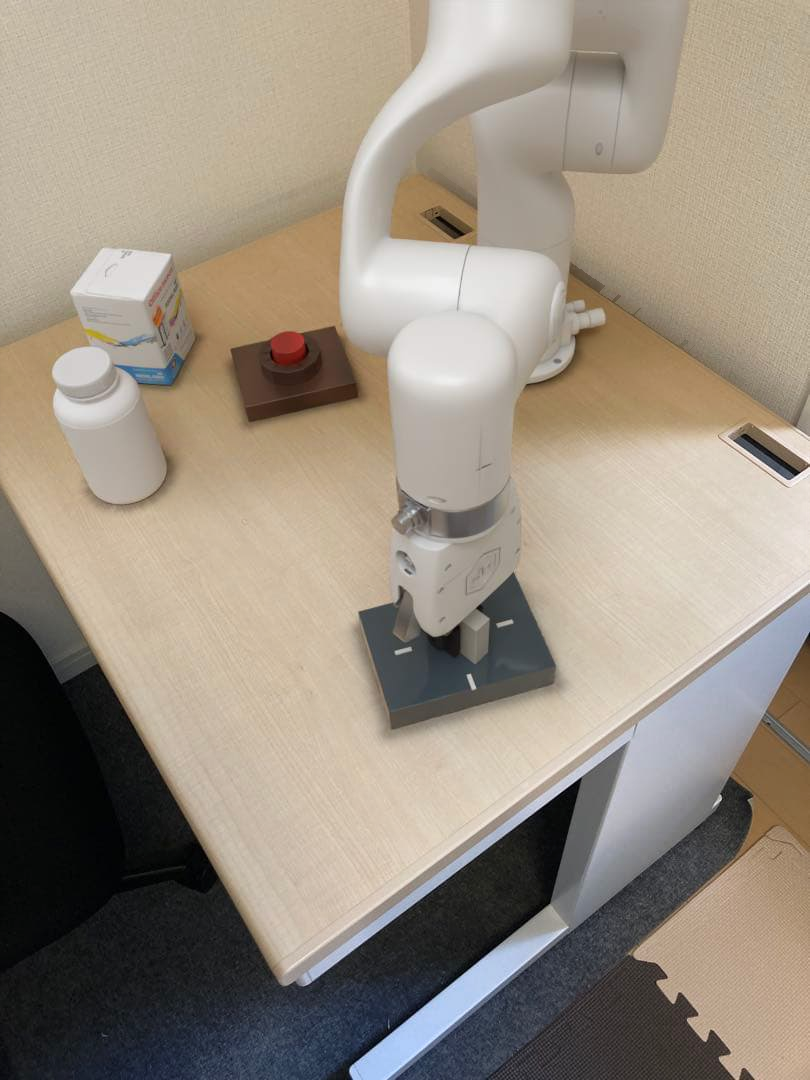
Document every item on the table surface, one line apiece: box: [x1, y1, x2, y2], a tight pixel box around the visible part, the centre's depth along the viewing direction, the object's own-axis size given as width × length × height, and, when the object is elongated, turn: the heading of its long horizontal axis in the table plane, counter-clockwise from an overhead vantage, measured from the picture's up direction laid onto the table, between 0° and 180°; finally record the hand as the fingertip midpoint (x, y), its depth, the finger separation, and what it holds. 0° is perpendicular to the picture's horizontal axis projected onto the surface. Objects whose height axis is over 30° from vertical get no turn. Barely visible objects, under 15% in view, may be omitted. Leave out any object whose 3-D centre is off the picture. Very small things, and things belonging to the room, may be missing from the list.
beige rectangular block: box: [458, 608, 490, 664], centre depth 73 cm, size 6×2×5 cm, turn 46°
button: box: [271, 330, 306, 365], centre depth 97 cm, size 4×4×2 cm
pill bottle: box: [51, 346, 168, 505], centre depth 87 cm, size 8×8×15 cm
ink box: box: [69, 247, 196, 386], centre depth 99 cm, size 9×8×12 cm
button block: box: [230, 325, 359, 423], centre depth 99 cm, size 12×10×4 cm
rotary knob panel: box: [357, 570, 557, 731], centre depth 76 cm, size 14×10×3 cm
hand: (454, 634), depth 75 cm, fingers closed
